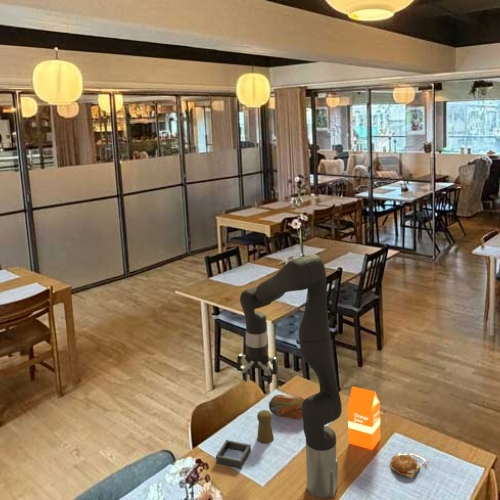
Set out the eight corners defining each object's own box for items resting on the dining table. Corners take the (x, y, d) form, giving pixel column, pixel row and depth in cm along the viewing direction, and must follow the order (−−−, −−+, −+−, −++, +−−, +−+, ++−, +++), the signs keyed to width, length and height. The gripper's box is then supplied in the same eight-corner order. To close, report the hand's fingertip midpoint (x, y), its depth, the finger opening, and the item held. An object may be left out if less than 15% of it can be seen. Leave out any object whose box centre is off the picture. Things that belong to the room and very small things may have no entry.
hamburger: (421, 489, 170) (422, 474, 168) (380, 471, 179) (380, 456, 177) (439, 465, 180) (440, 449, 178) (399, 448, 189) (400, 433, 187)
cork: (274, 433, 199) (273, 407, 196) (273, 444, 194) (272, 417, 190) (257, 433, 200) (256, 407, 197) (256, 444, 194) (255, 417, 191)
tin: (269, 415, 210) (268, 396, 208) (271, 411, 213) (270, 392, 211) (307, 420, 206) (307, 401, 204) (309, 416, 209) (308, 396, 206)
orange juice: (357, 432, 199) (356, 382, 194) (380, 439, 194) (380, 387, 189) (348, 443, 192) (347, 391, 188) (372, 450, 187) (371, 396, 183)
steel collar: (251, 452, 190) (250, 444, 189) (241, 469, 182) (240, 461, 181) (226, 447, 194) (226, 439, 193) (216, 463, 185) (215, 456, 184)
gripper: (234, 344, 187) (235, 385, 193) (274, 348, 184) (275, 389, 189) (239, 334, 194) (240, 374, 199) (278, 338, 191) (279, 378, 196)
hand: (257, 381), depth 194 cm, fingers open, 8 cm apart
